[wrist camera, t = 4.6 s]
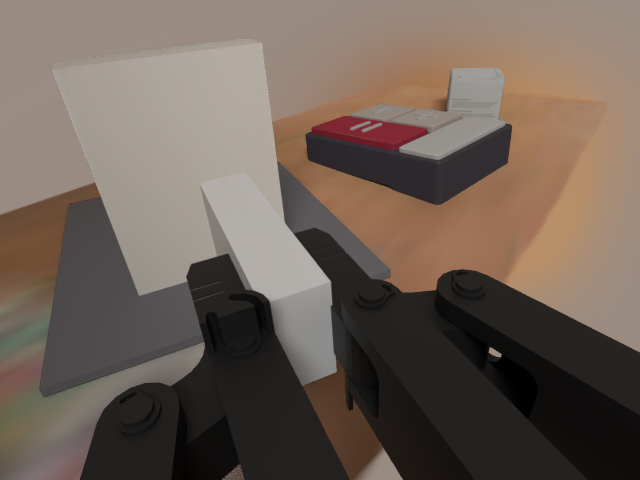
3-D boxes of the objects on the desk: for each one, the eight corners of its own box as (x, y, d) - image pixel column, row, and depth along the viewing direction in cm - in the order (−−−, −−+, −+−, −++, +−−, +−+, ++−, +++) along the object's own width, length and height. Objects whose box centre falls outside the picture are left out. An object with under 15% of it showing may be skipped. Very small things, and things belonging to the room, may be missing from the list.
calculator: (378, 100, 45) (515, 114, 35) (380, 139, 47) (509, 163, 37) (302, 125, 39) (440, 153, 29) (307, 169, 41) (438, 208, 31)
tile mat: (43, 396, 19) (38, 389, 18) (71, 209, 35) (68, 203, 34) (390, 276, 24) (390, 269, 24) (275, 163, 40) (274, 158, 40)
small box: (498, 123, 46) (506, 77, 44) (445, 122, 48) (449, 77, 45) (494, 109, 51) (501, 66, 48) (445, 109, 52) (449, 67, 50)
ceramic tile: (139, 295, 23) (51, 69, 17) (136, 270, 26) (57, 61, 19) (288, 251, 26) (261, 42, 20) (274, 232, 28) (246, 38, 22)
